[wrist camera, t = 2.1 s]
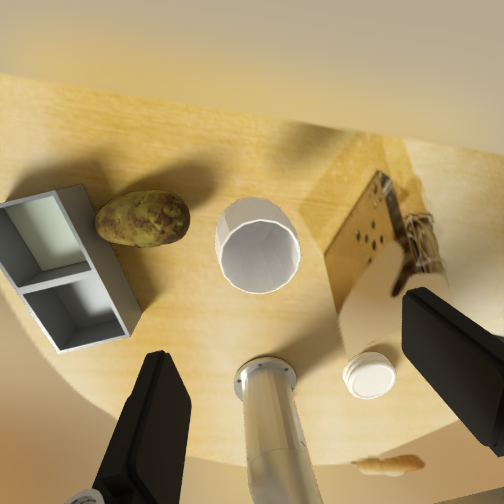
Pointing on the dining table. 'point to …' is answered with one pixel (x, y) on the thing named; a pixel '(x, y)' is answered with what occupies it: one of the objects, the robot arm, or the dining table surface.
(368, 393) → the coaster
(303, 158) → the dining table surface
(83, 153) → the dining table surface
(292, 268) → the cup
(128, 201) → the potato
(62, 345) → the divided open storage box
